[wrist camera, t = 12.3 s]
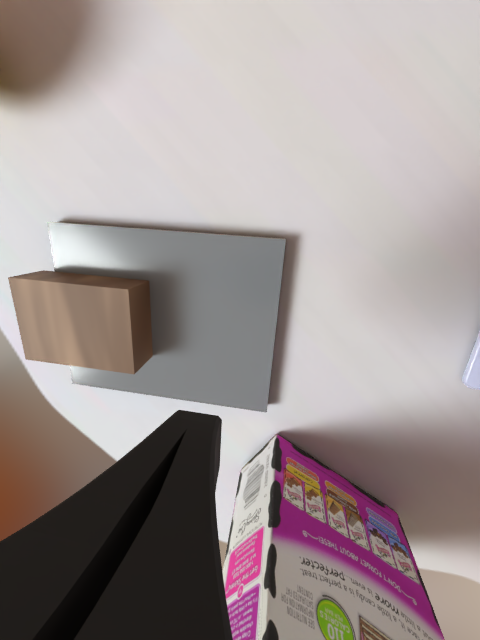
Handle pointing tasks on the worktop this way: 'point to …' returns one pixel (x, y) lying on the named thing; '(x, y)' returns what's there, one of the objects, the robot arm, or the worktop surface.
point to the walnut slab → (84, 320)
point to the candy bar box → (318, 558)
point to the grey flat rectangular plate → (188, 308)
